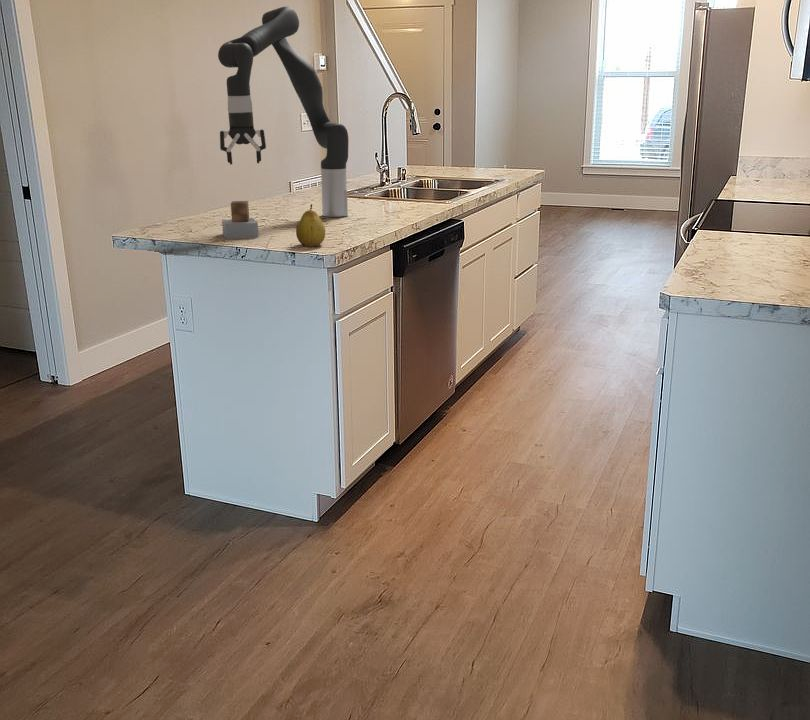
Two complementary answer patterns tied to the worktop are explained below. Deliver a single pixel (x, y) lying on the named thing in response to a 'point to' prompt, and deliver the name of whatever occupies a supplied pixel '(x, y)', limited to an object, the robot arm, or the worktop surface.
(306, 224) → the fruit
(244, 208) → the walnut block
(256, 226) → the base block
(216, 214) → the worktop surface
